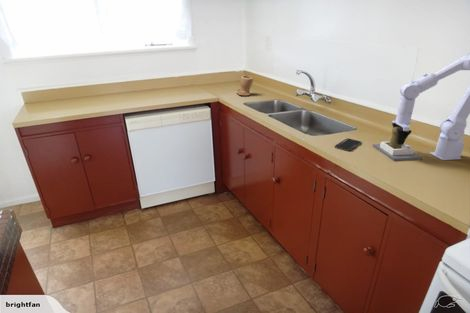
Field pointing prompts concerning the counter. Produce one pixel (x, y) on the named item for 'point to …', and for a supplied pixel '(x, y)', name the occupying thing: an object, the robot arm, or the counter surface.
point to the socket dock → (397, 152)
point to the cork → (395, 139)
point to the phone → (348, 144)
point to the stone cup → (245, 86)
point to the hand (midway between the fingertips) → (398, 141)
